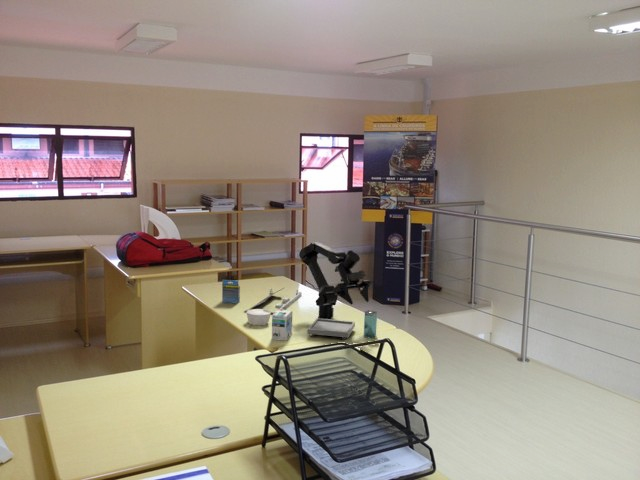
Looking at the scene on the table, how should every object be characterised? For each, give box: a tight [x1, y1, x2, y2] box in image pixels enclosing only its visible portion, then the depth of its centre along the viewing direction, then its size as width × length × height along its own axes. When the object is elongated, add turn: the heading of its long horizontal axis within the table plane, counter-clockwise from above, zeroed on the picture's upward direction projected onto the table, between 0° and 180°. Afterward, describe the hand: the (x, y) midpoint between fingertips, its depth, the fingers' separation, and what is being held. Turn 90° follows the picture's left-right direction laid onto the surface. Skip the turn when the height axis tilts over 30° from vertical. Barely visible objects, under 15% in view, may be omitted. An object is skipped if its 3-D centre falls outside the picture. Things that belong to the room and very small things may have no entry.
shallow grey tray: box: [307, 317, 356, 341], centre depth 268 cm, size 18×18×4 cm
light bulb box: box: [271, 308, 293, 341], centre depth 261 cm, size 11×7×11 cm, turn 168°
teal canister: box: [363, 310, 378, 339], centre depth 266 cm, size 6×6×11 cm
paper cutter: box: [246, 287, 303, 314], centre depth 317 cm, size 18×45×6 cm, turn 166°
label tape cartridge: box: [221, 279, 241, 304], centre depth 317 cm, size 9×4×12 cm, turn 84°
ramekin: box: [246, 308, 272, 326], centre depth 281 cm, size 11×11×5 cm
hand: (360, 302), depth 271 cm, fingers open, 9 cm apart
